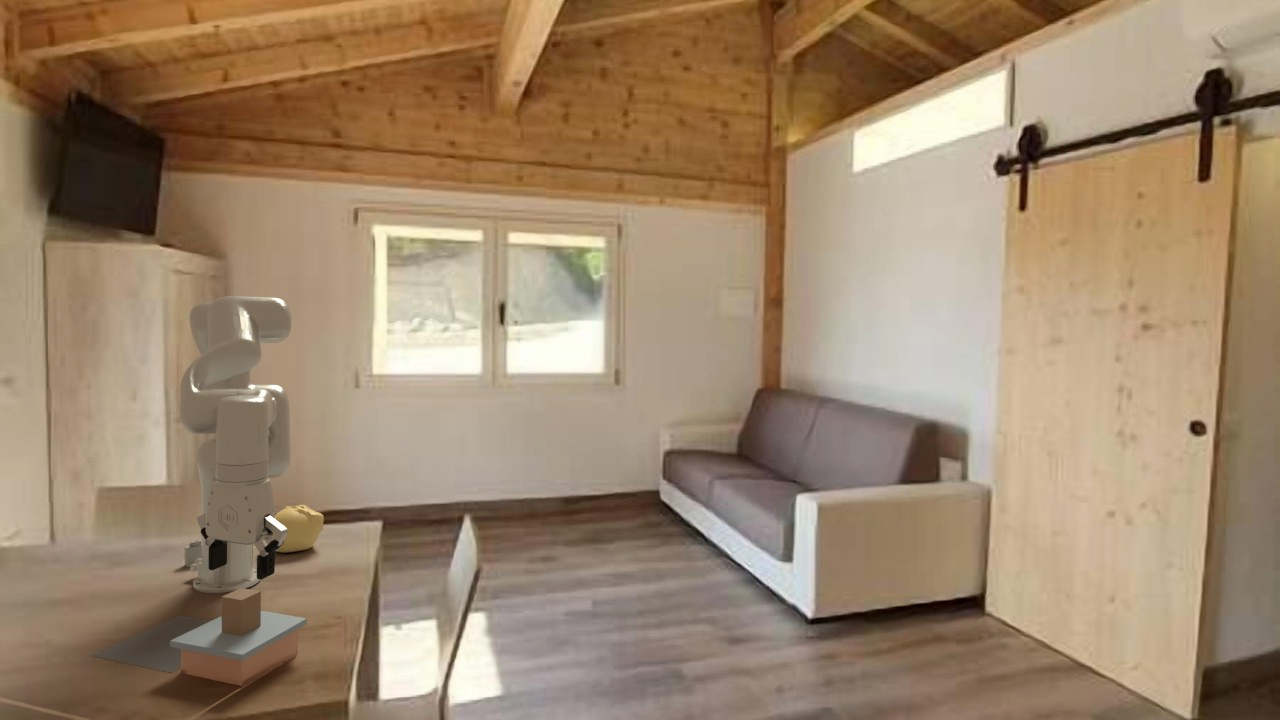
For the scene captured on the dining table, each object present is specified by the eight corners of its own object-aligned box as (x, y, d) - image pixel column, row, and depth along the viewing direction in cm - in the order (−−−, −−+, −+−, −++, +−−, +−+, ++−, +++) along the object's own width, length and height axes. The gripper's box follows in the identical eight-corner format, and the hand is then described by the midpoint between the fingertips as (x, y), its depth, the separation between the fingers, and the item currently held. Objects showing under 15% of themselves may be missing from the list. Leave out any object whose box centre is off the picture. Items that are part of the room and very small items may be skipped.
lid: (170, 646, 114) (170, 603, 113) (240, 612, 127) (240, 574, 127) (242, 660, 110) (242, 616, 110) (306, 624, 124) (307, 584, 123)
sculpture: (330, 546, 179) (331, 503, 178) (289, 560, 168) (290, 515, 167) (298, 538, 184) (298, 497, 183) (256, 551, 173) (256, 508, 172)
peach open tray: (181, 675, 115) (181, 644, 115) (240, 642, 126) (240, 615, 126) (242, 688, 112) (242, 657, 111) (297, 653, 123) (297, 625, 123)
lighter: (187, 567, 161) (187, 532, 161) (184, 565, 162) (184, 530, 162) (221, 559, 167) (221, 525, 166) (218, 557, 168) (218, 524, 167)
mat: (90, 657, 119) (90, 655, 119) (180, 617, 136) (180, 615, 136) (170, 675, 115) (170, 672, 115) (253, 631, 131) (253, 629, 131)
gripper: (180, 469, 116) (180, 571, 117) (268, 483, 111) (267, 589, 113) (218, 460, 123) (218, 556, 125) (303, 472, 119) (301, 572, 120)
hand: (241, 571), depth 119 cm, fingers open, 9 cm apart
